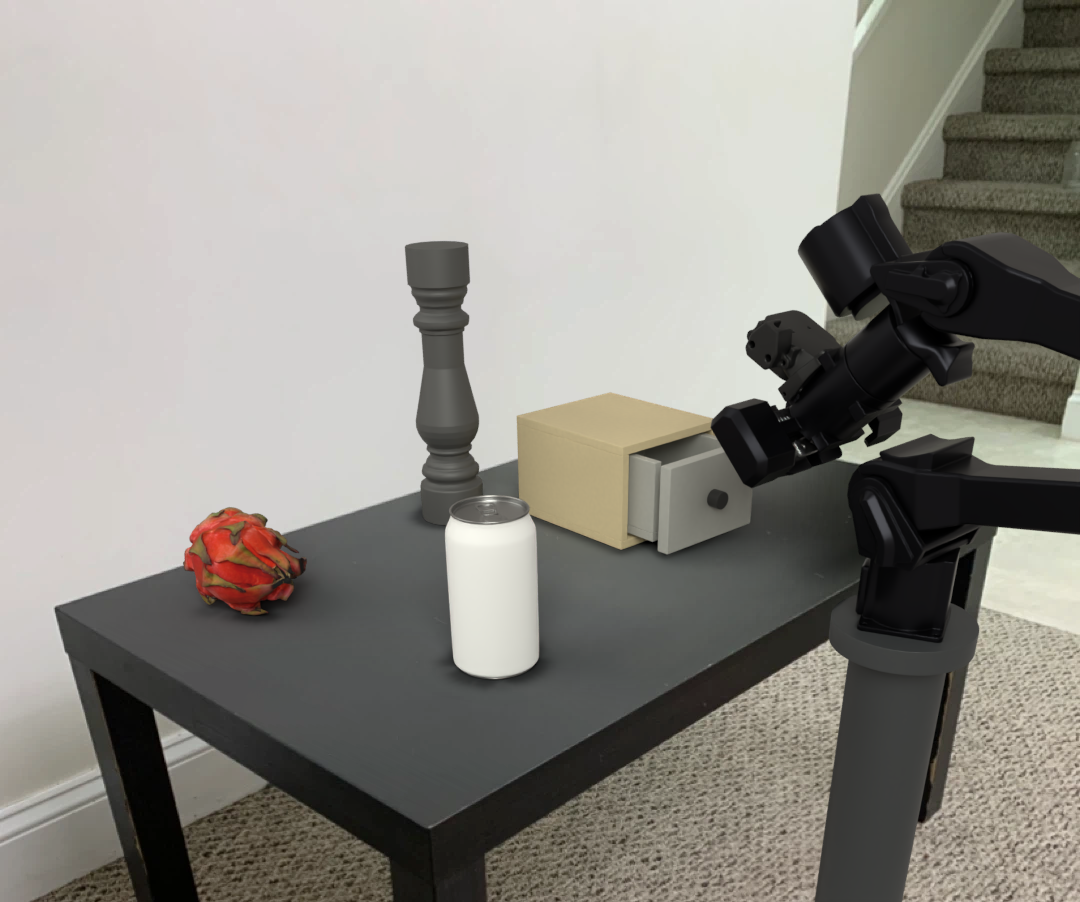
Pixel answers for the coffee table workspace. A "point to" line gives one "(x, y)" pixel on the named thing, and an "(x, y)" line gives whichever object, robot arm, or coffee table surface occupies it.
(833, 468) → the coffee table surface
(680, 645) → the coffee table surface
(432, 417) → the candle holder
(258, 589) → the dragon fruit
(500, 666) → the can
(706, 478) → the grey drawer with knob
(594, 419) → the small drawer cabinet
